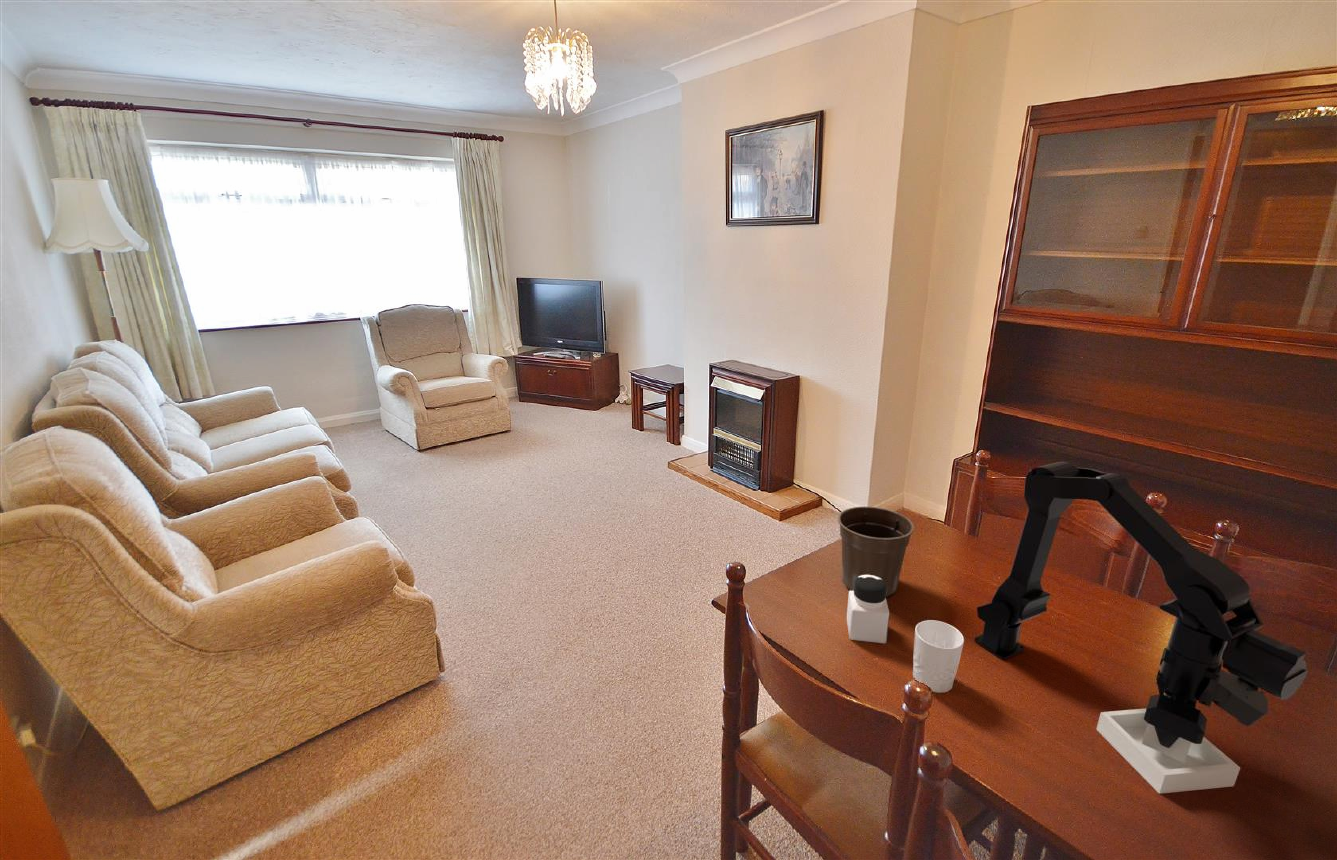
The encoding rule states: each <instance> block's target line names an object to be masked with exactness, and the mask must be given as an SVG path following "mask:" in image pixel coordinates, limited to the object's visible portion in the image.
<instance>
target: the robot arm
mask: <svg viewBox="0 0 1337 860" xmlns="http://www.w3.org/2000/svg"><path fill="white" fill-rule="evenodd" d="M1023 497H1024V500H1025V502H1026V506H1027V508H1028V509H1027V514H1026V517H1025V521H1024V525H1023V527H1022V528H1023V529H1022V532H1021V535H1020V538H1019V542H1018V544H1017V545H1018V546H1017V549H1016V553H1015V555H1014V560H1013V563H1012V566H1011V571H1010V574H1009V575H1008V576H1007V578H1006V579H1005V580H1004V581H1003V582H1002V583H1001V584H999V586H998V587H997V589H996V591H995V592H994V595H993V596H992V599H991V601H990V602H989V603H985V604H983V605H980V606H976V612H977V618H978V619H979V620H981V621H982V622H984V625H983V629H982V630H983V631H982V634H980V635H977V636H975V637H974V638H973V641H974V642H975V643H977V644H978V645H980V646H981V647H983V648H984V649H986V650H987V651H989V652H990V653H992V654H993V655H995V656H996V657H998V659H1001V660H1007V659H1008V658H1010V657H1011V658H1012V657H1013V656H1015V655H1017V654H1020V653H1022V652H1024V651H1025V647H1024V645H1021V644H1020V643H1018V642H1019V638H1020V633H1021V628H1022V622H1026V621H1029V620H1031V619H1033V618H1035V617H1038V616H1040V615H1041V614H1042V613H1046V612H1047V611H1048V610H1047V605H1048V601H1049V600H1050V599H1051V594H1050V593H1049V592H1046V591H1044V588H1043V586H1042V583H1041V580H1042V577H1043V574H1044V570H1045V568H1046V564H1047V562H1048V561H1047V560H1048V559H1049V554H1050V551H1051V548H1052V545H1053V541H1054V539H1055V535H1056V533H1057V529H1058V526H1059V523H1060V520H1061V517H1062V515H1063V513H1064V512H1065V511H1067V509H1068V508H1069V507H1070V506H1071V505H1072V504H1073V503H1074V502H1075V500H1088V501H1093V502H1094V501H1095V502H1097V503H1099V504H1100V506H1101V507H1102V508H1103V509H1104V510H1105V511H1106V512H1107V513H1108V514H1109V515H1110V516H1111V517H1112V518H1113V519H1114V520H1115V521H1116V522H1117V523H1118V525H1120V526H1121V527H1122V528H1123V530H1125V531H1126V532H1127V534H1128V535H1129V536H1130V537H1131V538H1132V539H1133V540H1134V541H1135V542H1136V543H1137V544H1138V545H1139V546H1140V548H1142V549H1143V550H1144V551H1145V552H1146V553H1147V554H1148V555H1149V556H1150V557H1151V558H1152V560H1154V561H1155V562H1156V564H1157V565H1158V567H1159V568H1160V569H1161V572H1162V575H1163V578H1164V581H1165V583H1166V585H1167V587H1168V589H1169V590H1170V592H1171V593H1172V594H1173V596H1174V597H1175V599H1171V600H1169V601H1166V602H1164V603H1161V604H1159V606H1158V608H1159V610H1161V611H1163V612H1165V613H1167V614H1170V615H1171V616H1174V617H1175V620H1174V623H1173V626H1172V630H1171V633H1170V635H1169V639H1168V643H1167V646H1166V647H1164V648H1163V650H1162V651H1163V652H1162V656H1161V659H1160V662H1159V665H1158V666H1160V669H1158V671H1157V675H1156V676H1155V677H1156V683H1155V684H1156V685H1157V689H1158V694H1153V695H1149V699H1148V702H1147V707H1146V708H1147V709H1146V712H1145V716H1144V720H1145V721H1146V722H1147V723H1148V724H1151V725H1153V726H1154V727H1155V730H1156V733H1157V737H1158V740H1159V743H1160V745H1162V746H1164V747H1166V748H1170V747H1171V746H1172V745H1173V744H1174V743H1175V742H1176V740H1177V739H1178V738H1179V737H1180V738H1183V739H1185V740H1187V741H1190V742H1192V743H1194V744H1201V743H1202V740H1203V737H1205V734H1206V728H1207V724H1208V723H1207V721H1208V719H1207V717H1206V716H1205V715H1204V714H1203V712H1202V711H1201V710H1200V709H1198V708H1197V707H1196V705H1197V702H1198V703H1199V704H1202V705H1203V706H1206V707H1208V708H1211V706H1212V703H1214V705H1216V706H1217V707H1219V709H1222V710H1223V711H1224V712H1225V713H1227V714H1229V715H1231V716H1232V717H1234V718H1236V720H1237V722H1238V723H1240V724H1241V725H1244V726H1246V727H1251V726H1252V725H1255V723H1256V722H1258V721H1260V720H1261V719H1262V718H1263V717H1264V716H1266V715H1268V710H1269V709H1268V708H1269V700H1268V697H1267V696H1266V693H1269V694H1271V695H1272V696H1274V697H1276V698H1278V699H1280V700H1282V701H1287V700H1288V699H1290V698H1291V697H1292V696H1293V695H1294V694H1295V693H1296V692H1297V691H1298V689H1300V687H1301V685H1302V684H1303V682H1304V680H1305V679H1306V676H1307V674H1308V670H1307V661H1305V656H1306V654H1307V653H1306V652H1305V651H1304V650H1302V649H1299V648H1297V647H1295V646H1292V645H1289V644H1286V643H1283V642H1280V641H1278V640H1276V639H1274V638H1272V637H1270V636H1267V635H1265V634H1263V633H1261V632H1259V631H1257V630H1259V629H1261V628H1262V627H1263V626H1264V624H1263V623H1264V622H1263V621H1262V619H1261V617H1260V615H1259V613H1258V611H1257V609H1256V607H1255V606H1254V604H1253V602H1252V600H1251V598H1250V591H1251V588H1250V586H1249V584H1248V583H1247V582H1246V580H1245V579H1244V578H1243V577H1242V576H1241V575H1240V574H1238V573H1237V572H1235V571H1234V570H1233V569H1231V567H1229V566H1227V565H1226V564H1225V563H1223V562H1222V561H1221V560H1219V559H1218V558H1215V557H1213V556H1212V555H1209V554H1207V553H1205V552H1203V551H1201V550H1198V549H1197V548H1196V547H1194V545H1192V544H1191V543H1189V542H1188V541H1187V540H1186V539H1185V538H1184V537H1183V536H1182V535H1181V534H1180V533H1179V532H1178V530H1176V529H1175V528H1174V527H1173V526H1172V525H1171V524H1170V523H1169V522H1168V521H1167V520H1165V518H1164V517H1163V516H1162V515H1161V514H1160V513H1158V511H1156V510H1155V508H1153V506H1152V505H1151V504H1149V503H1148V502H1147V501H1146V500H1145V499H1144V498H1143V497H1142V496H1141V495H1140V494H1139V493H1138V492H1137V491H1136V490H1135V489H1134V488H1132V486H1131V485H1130V483H1129V481H1128V479H1127V478H1126V477H1124V476H1123V475H1122V474H1118V473H1115V472H1114V473H1113V472H1112V473H1110V472H1104V471H1100V470H1098V469H1094V468H1088V467H1086V468H1085V467H1077V466H1076V465H1075V464H1074V463H1071V462H1068V461H1058V462H1053V463H1049V464H1044V465H1040V466H1037V467H1033V468H1032V469H1030V470H1028V471H1027V472H1026V475H1025V478H1024V489H1023ZM1230 613H1233V614H1234V615H1235V616H1234V617H1232V618H1230V619H1227V620H1226V619H1225V618H1224V616H1225V615H1227V614H1230ZM1222 668H1223V669H1226V670H1227V671H1228V672H1226V671H1225V670H1222ZM1259 689H1261V691H1259ZM1265 692H1266V693H1265Z"/></svg>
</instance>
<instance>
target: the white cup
mask: <svg viewBox="0 0 1337 860" xmlns="http://www.w3.org/2000/svg"><path fill="white" fill-rule="evenodd" d="M964 643H965V637H964V636H963V634H962V632H961V631H960V630H959V629H957V628H956V627H955V626H953V625H951V624H948V623H947V622H944V621H940V620H933V619H932V620H931V619H927V620H924V621H923V620H922V621H921V622H920V621H919V622H918V623H917V624H916V625H915V629H914V642H913V656H912V658H913V659H912V660H913V662H912V663H913V665H912V666H913V669H912V677H913V679H914V678H915V679H914V681H915V680H917V681H919V682H921V683H924V684H925V685H927V686H928V687H930V688H931V689H932V691H933V692H932V691H931V692H932V693H938V694H941V693H947V692H949V691H950V690H951V689H953V685H954V680H955V678H956V676H957V672H958V668H959V663H960V660H961V656H962V653H963V652H962V651H963V647H964Z"/></svg>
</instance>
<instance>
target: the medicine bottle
mask: <svg viewBox="0 0 1337 860" xmlns="http://www.w3.org/2000/svg"><path fill="white" fill-rule="evenodd" d="M886 588H887V585H886V583H885V582H884V581H883V580H882V579H881V578H879V577H877V576H873V575H861V576H859V577H857V578H856V579H855V585H854V591H851V590H849V591H848V596H847V597H848V598H847V599H848V600H847V609H846V624H847V630H848V638H849V640H851V641H858V642H859V641H861V642H869V643H870V642H871V643H877V644H887V641H888V634H889V624H890V615H891V614H890V611H889V606H888V602H887V596H886Z"/></svg>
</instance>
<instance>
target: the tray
mask: <svg viewBox="0 0 1337 860" xmlns="http://www.w3.org/2000/svg"><path fill="white" fill-rule="evenodd" d="M1146 709H1147V707H1146V708H1135V709H1134V708H1133V709H1125V710H1114V711H1113V710H1112V711H1103V712H1102V711H1101V712H1100V713H1099V714H1100V715H1099V718H1098V721H1097V726H1096V731H1097V732H1098V733H1099V734H1100V735H1101V736H1102V737H1103V738H1104V739H1105V740H1106V741H1107V742H1108V743H1109V744H1110V745H1111V746H1112V747H1113V749H1115V750H1116V751H1117V752H1118V753H1119V754H1120V755H1121V756H1122V757H1123V758H1124V759H1125V761H1127V762H1128V764H1130V766H1132V768H1133V769H1135V771H1136V772H1137V773H1138V774H1140V776H1141V777H1142V778H1143V779H1144V780H1146V782H1147V783H1148V784H1149V785H1150V786H1151V787H1152V788H1153V789H1154V790H1155V791H1156V792H1157V793H1158V794H1170V793H1180V792H1188V791H1199V790H1209V789H1220V788H1229V787H1230V788H1231V787H1234V786H1235V784H1236V781H1237V779H1238V776H1239V774H1240V773H1239V772H1240V770H1241V767H1240V766H1239V765H1238V764H1237V763H1235V761H1234V760H1232V759H1231V758H1230V757H1228V756H1227V755H1226V754H1225V753H1224V752H1223V751H1221V750H1220V749H1219V748H1218V747H1216V745H1214V744H1213V743H1212V742H1211V741H1210V740H1208V738H1206V737H1205V736H1204V737H1203V740H1202V743H1201V744H1194V743H1192V742H1191V745H1190V748H1189V751H1188V754H1187V757H1186V760H1185V763H1183V762H1181V761H1178V760H1176V759H1174V758H1172V757H1170V756H1167V755H1165V754H1163V753H1161V752H1159V751H1157V750H1154V749H1152V748H1150V747H1148V746H1146V745H1143V744H1142V741H1143V738H1144V734H1145V731H1146V727H1147V724H1148V723H1147V722H1146V721H1145V720H1144V716H1145V712H1146Z"/></svg>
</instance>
